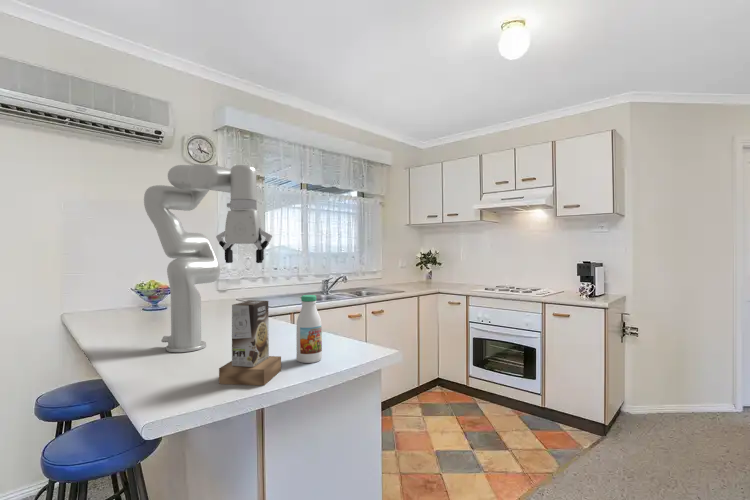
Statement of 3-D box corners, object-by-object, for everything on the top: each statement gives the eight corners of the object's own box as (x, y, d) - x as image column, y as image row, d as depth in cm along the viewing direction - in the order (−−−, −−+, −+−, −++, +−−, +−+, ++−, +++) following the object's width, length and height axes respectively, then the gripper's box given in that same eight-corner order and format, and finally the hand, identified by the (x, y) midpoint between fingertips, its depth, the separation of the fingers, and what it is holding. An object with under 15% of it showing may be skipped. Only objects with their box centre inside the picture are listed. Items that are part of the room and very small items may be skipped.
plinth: (219, 383, 99) (219, 368, 99) (240, 369, 111) (240, 355, 111) (264, 385, 98) (264, 369, 98) (281, 370, 110) (281, 356, 110)
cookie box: (254, 367, 99) (253, 304, 99) (231, 366, 101) (230, 304, 100) (269, 357, 108) (269, 300, 108) (248, 356, 110) (248, 299, 109)
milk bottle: (291, 362, 118) (291, 296, 118) (304, 355, 125) (304, 293, 125) (314, 364, 115) (313, 297, 115) (326, 357, 122) (325, 294, 122)
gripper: (210, 206, 115) (210, 263, 115) (266, 204, 113) (266, 263, 113) (223, 208, 123) (223, 262, 123) (275, 207, 121) (276, 262, 121)
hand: (244, 262), depth 118 cm, fingers open, 9 cm apart
